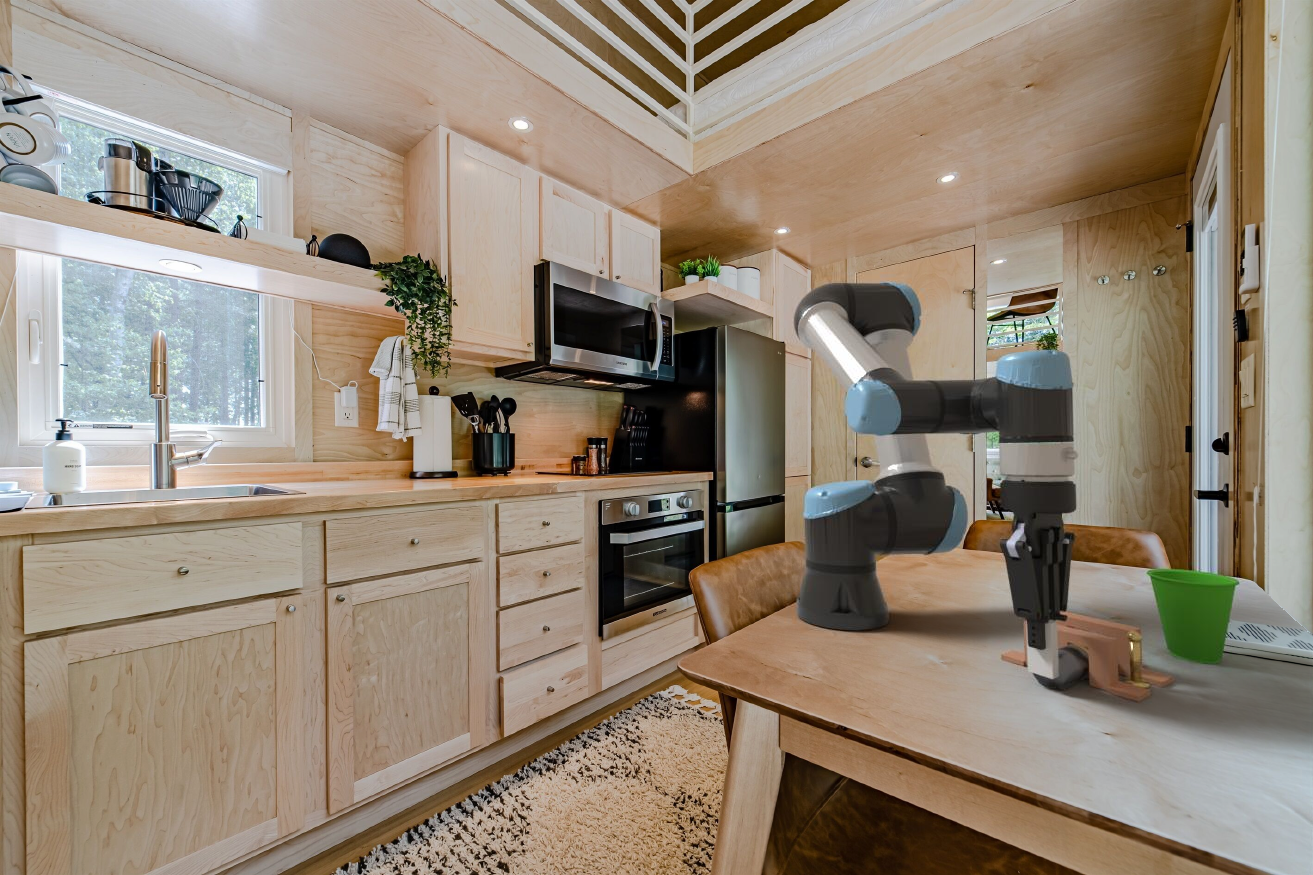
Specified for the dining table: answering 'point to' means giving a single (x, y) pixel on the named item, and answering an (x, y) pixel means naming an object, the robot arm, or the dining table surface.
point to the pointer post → (1135, 661)
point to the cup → (1194, 612)
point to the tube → (1069, 667)
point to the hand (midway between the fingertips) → (1043, 673)
